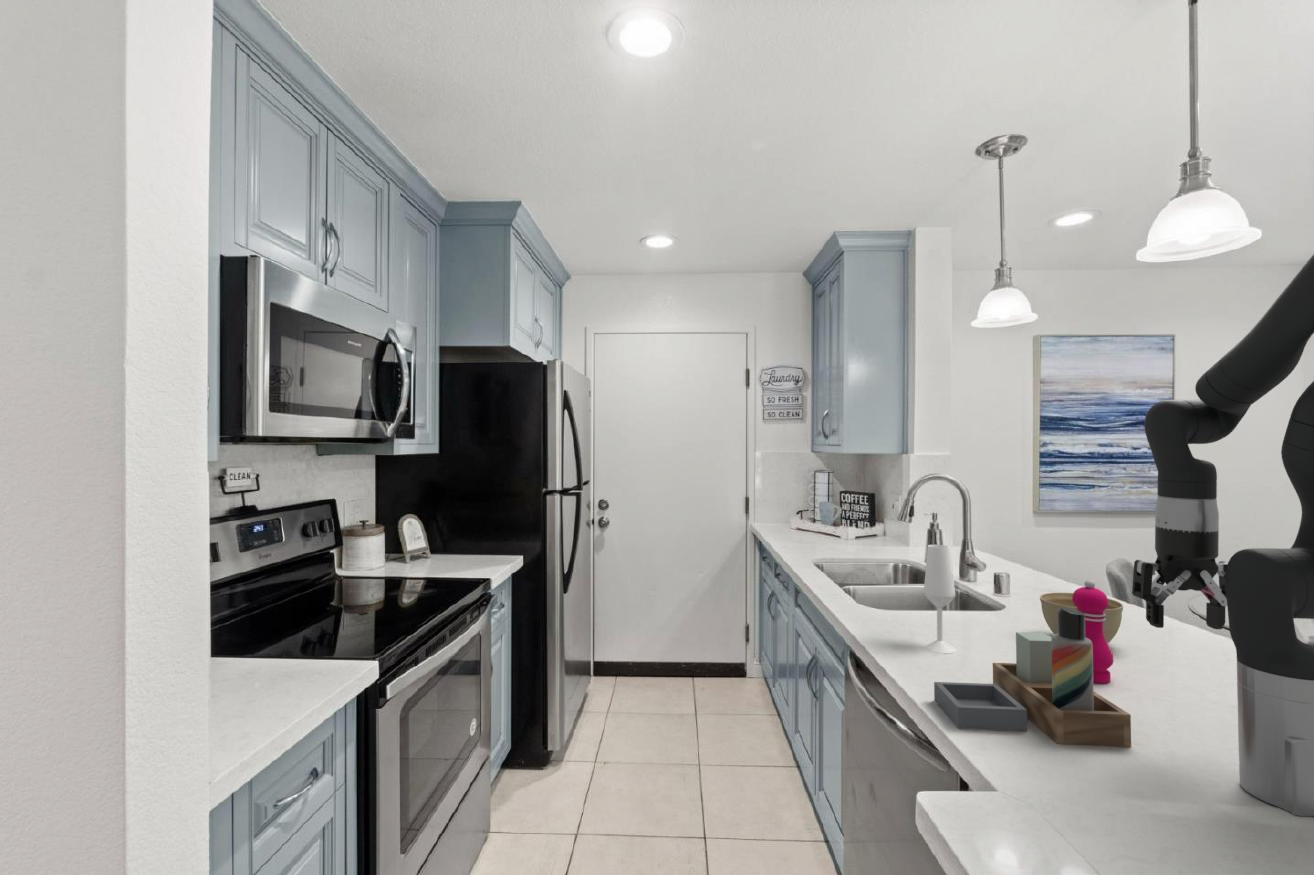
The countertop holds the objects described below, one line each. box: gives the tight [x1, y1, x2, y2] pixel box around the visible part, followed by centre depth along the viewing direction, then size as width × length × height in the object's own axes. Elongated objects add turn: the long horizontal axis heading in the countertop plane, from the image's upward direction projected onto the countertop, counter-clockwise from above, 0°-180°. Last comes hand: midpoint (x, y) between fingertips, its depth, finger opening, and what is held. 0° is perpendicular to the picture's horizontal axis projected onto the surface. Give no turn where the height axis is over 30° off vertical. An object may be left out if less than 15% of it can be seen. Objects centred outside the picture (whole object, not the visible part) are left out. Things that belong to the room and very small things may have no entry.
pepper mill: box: [1072, 579, 1114, 685], centre depth 122 cm, size 7×7×20 cm
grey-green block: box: [1015, 631, 1052, 684], centre depth 111 cm, size 5×5×12 cm
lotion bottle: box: [1051, 607, 1094, 711], centre depth 100 cm, size 6×6×20 cm
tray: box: [933, 681, 1028, 732], centre depth 105 cm, size 11×11×4 cm
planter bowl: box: [1039, 592, 1124, 645], centre depth 142 cm, size 16×16×11 cm
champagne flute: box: [923, 544, 957, 654], centre depth 140 cm, size 7×7×24 cm
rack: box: [992, 662, 1132, 748], centre depth 105 cm, size 22×11×5 cm, turn 174°
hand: (1185, 627), depth 95 cm, fingers open, 8 cm apart
